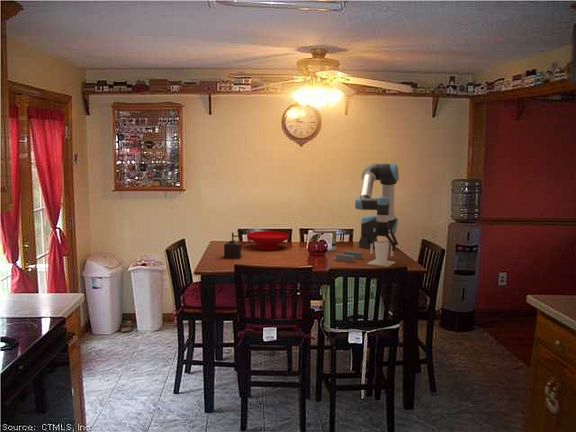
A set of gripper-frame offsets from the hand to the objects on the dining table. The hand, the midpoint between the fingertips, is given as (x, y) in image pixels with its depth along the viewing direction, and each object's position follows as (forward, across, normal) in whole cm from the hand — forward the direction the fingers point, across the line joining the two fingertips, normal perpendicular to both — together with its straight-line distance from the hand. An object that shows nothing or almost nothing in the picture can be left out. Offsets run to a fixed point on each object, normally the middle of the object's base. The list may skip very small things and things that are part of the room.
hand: (381, 254), depth 330 cm
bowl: (+6, -90, +7) cm, 90 cm away
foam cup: (+5, 0, 0) cm, 5 cm away
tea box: (+6, -52, +22) cm, 57 cm away
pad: (+6, 0, 0) cm, 6 cm away
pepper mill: (+6, -91, -33) cm, 97 cm away
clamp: (+6, -22, 0) cm, 23 cm away
